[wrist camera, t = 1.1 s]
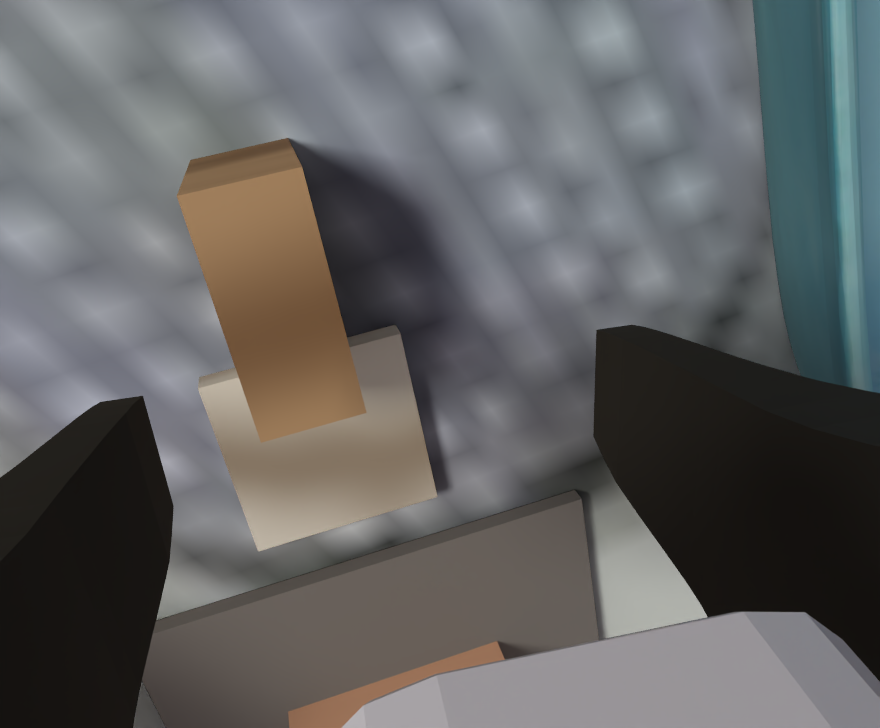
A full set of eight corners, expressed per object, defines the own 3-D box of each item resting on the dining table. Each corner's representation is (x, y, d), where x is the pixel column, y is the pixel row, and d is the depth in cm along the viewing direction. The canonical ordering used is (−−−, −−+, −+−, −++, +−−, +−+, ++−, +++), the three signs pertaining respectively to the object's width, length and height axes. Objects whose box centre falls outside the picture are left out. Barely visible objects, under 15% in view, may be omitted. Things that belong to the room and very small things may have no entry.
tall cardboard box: (125, 175, 19) (91, 215, 15) (349, 123, 20) (380, 148, 16) (257, 536, 25) (262, 646, 20) (431, 483, 25) (472, 578, 21)
